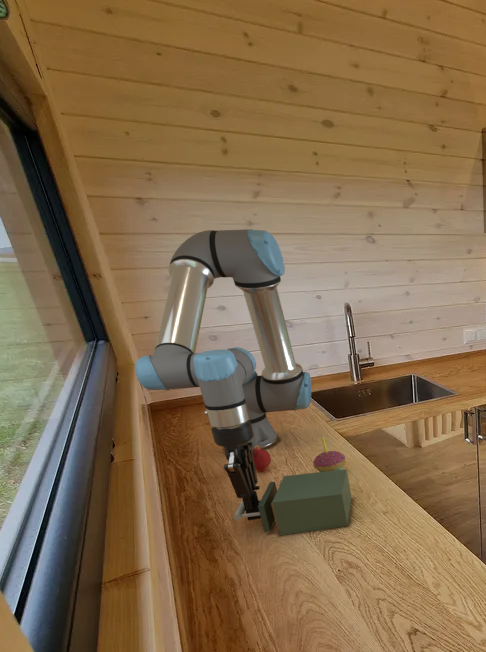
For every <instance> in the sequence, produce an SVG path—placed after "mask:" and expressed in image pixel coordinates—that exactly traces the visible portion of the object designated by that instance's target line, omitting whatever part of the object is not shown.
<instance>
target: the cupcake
mask: <svg viewBox="0 0 486 652" xmlns="http://www.w3.org/2000/svg"><path fill="white" fill-rule="evenodd" d="M321 440H322V441H321V442H322V445H323V450H324V451H323V452H321V453H319V454H318V455H317V456H316V457H315V458H314V459H313V468H314V469H315V470H316V471H318V472H327V471H336V470H343V466H345V465H346V463H347V458H346V455H345V454H344V453H342V452H340V451H336V450H328V448H327V444H326V440H325V437H324V436H323V435H321Z"/></svg>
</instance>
